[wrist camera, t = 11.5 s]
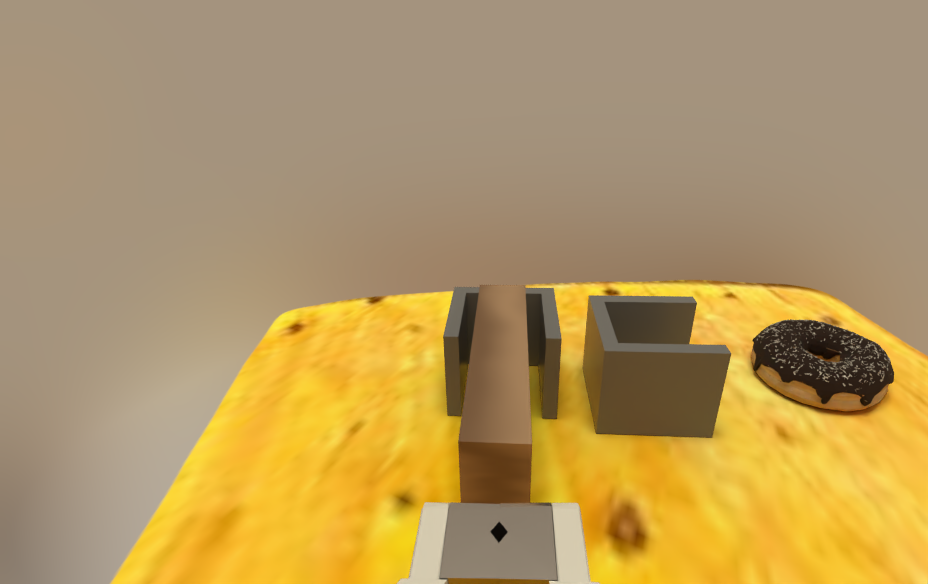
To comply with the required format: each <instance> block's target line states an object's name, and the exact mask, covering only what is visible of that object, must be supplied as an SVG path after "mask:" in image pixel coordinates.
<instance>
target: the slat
mask: <svg viewBox="0 0 928 584" xmlns="http://www.w3.org/2000/svg"><path fill="white" fill-rule="evenodd" d="M458 443H459V467H460V491H461V503H482V504H500V503H530V482H531V455H532V435H531V410H530V386H529V362H528V338H527V314H526V289H525V285H480V288H479V295H478V303H477V310H476V317H475V324H474V332H473V339H472V346H471V353H470V361H469V368H468V375H467V383H466V390H465V397H464V404H463V412H462V419H461V426H460V434H459V441H458Z"/></svg>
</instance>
